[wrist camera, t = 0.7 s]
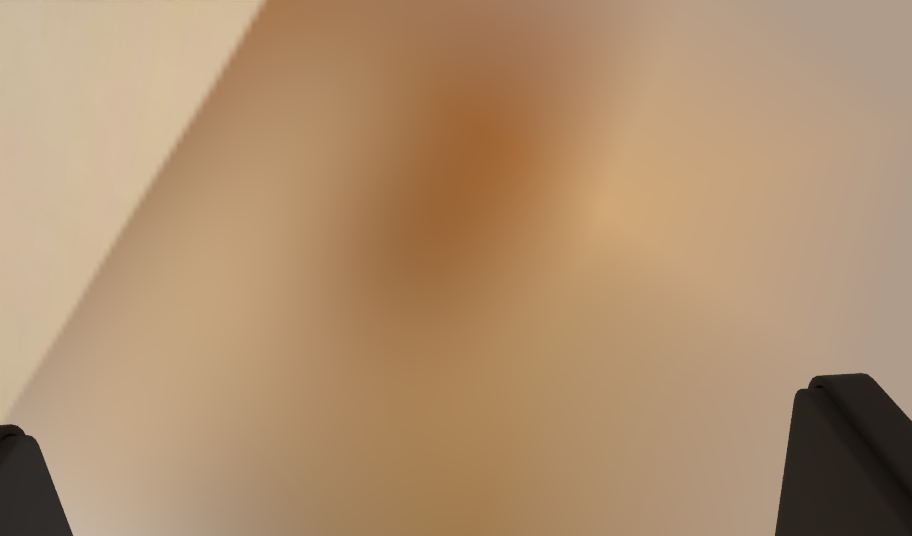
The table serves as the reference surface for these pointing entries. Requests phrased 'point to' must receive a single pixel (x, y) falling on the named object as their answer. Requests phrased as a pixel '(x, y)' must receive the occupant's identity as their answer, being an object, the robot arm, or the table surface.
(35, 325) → the table surface
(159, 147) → the table surface
